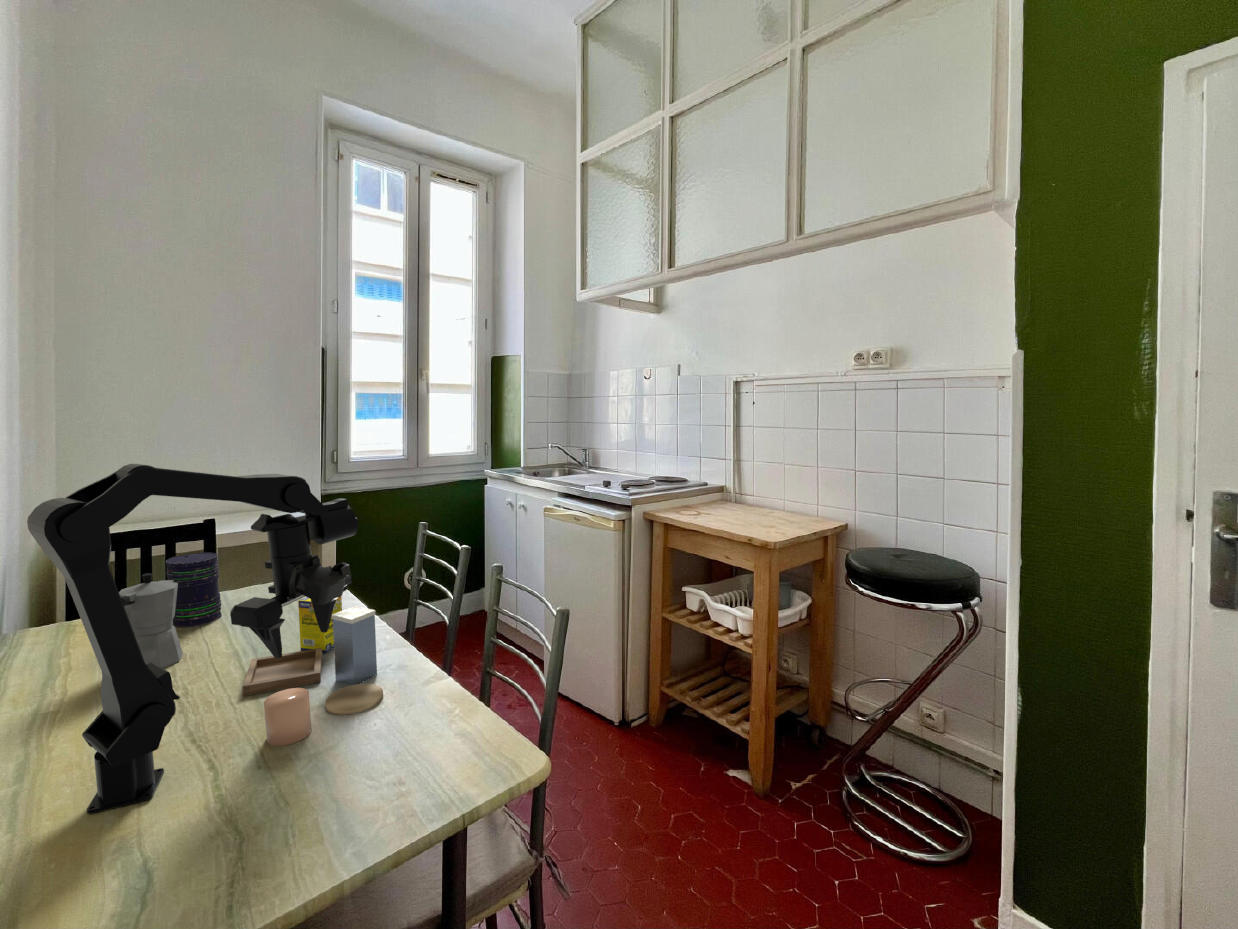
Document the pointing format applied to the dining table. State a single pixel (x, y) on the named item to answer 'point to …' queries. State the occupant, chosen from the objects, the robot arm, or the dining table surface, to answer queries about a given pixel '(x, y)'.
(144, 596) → the coffeepot
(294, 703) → the pink rounded cylinder
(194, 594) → the storage jar
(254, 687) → the walnut tray
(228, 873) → the dining table surface
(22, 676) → the dining table surface
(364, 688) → the cork coaster
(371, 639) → the tea tin
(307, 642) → the supplement box
